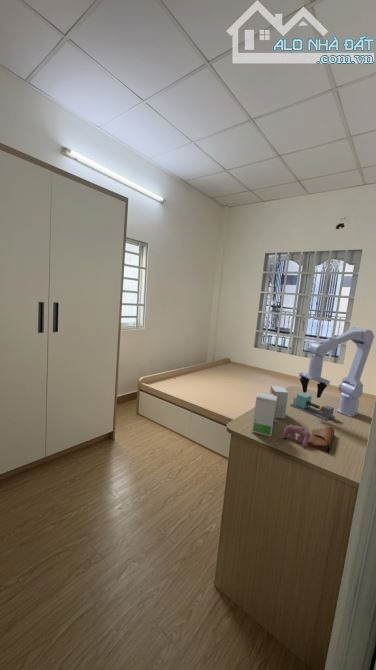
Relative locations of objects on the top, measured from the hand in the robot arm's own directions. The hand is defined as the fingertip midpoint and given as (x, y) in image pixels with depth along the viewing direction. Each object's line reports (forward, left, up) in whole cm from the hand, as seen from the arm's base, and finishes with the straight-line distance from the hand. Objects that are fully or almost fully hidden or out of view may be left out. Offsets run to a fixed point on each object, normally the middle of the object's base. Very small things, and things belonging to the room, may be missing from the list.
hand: (311, 394), depth 136 cm
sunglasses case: (+19, +17, -11) cm, 28 cm away
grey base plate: (-6, -2, -10) cm, 12 cm away
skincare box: (+35, 0, -11) cm, 37 cm away
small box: (+15, -8, -11) cm, 20 cm away
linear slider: (-6, -2, -10) cm, 12 cm away
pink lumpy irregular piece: (+29, +12, -11) cm, 33 cm away
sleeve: (-6, -7, -10) cm, 14 cm away
